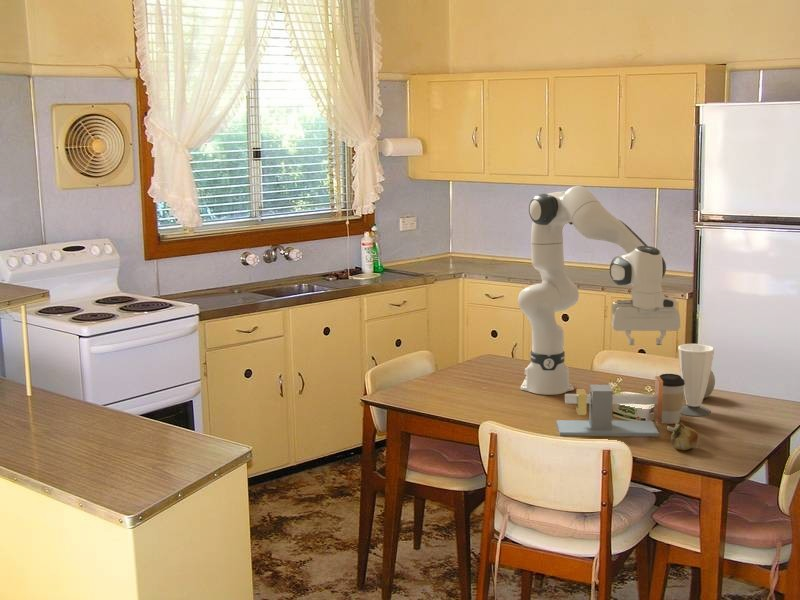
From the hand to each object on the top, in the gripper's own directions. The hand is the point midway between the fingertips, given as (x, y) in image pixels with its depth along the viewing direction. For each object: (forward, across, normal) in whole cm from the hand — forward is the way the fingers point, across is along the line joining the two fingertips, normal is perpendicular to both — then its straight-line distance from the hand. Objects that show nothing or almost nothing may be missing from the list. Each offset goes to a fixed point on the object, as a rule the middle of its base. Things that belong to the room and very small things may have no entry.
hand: (645, 344), depth 300 cm
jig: (+27, -11, 0) cm, 29 cm away
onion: (+28, +9, -17) cm, 34 cm away
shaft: (+24, -9, 0) cm, 26 cm away
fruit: (+28, +25, +35) cm, 51 cm away
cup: (+28, +20, +20) cm, 40 cm away
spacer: (+22, -19, 0) cm, 29 cm away
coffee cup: (+28, +10, +10) cm, 31 cm away
